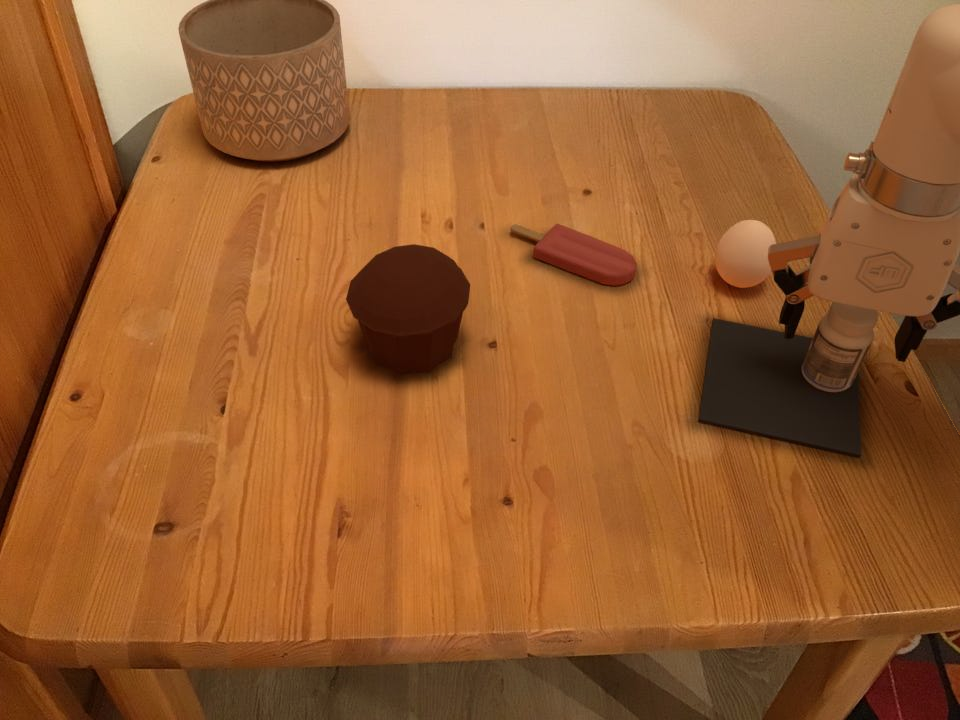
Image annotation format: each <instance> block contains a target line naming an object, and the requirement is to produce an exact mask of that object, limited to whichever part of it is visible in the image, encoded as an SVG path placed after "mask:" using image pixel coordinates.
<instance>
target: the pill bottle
mask: <svg viewBox="0 0 960 720" xmlns="http://www.w3.org/2000/svg"><path fill="white" fill-rule="evenodd" d="M879 316H880V315H879V311H877V310H872V309H867V308H861V307H856V306H851V305H846V304H841V303H836V302H831V304H830V307H829V308H828V311H827V313H825V314H824V315H823V316H822V317H821V319H820V321H819V322H818V324H817V326H816V330H815V332H814V335H813V337H812V338H813V340H812V342H811V345H810V347H809V350H808V352H807V354H806V357H805V359H804V362H803V364H802V374H803V376H804V378H805V379H806V380H807V381H808V382H809V383H810V384H811V385H813V386H814V387H816V388H817V389H820V390H823V391H826V392H840V391H843V390H846V389H847V388H849V387H850V386H851V384H852V383H853V381H854V379H855V377H856V375H857V372H859V370H860V369H861V366H862V365H863V362H864V360H865V358H866V356H867V354H868V352H869V349H870V348H871V345H872V344H873V341H874V338H875V330H874V329H875V327H876V324H877V322H878V320H879Z"/></svg>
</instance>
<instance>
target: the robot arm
mask: <svg viewBox="0 0 960 720" xmlns="http://www.w3.org/2000/svg"><path fill="white" fill-rule="evenodd" d="M845 157H846V158H845V160H844V166H843V170H844V171H848V172H853V175H852V176H851V177H850V178H849V180H847V182H846V184H845V186H844V187H843V189H842V190H841V191H840V193H839V195H838V197H837V198H836V200H835V201H834V203H833V205H832V207H831V209H830V211H829V212H828V214H827V216H826V218H825V220H824V223H823V224H822V226H821V228H820V230H819V232H818V235H814V236H809V237H803V238H798V239H793V240H788V241H783V242H779V243H776V244H773V245H771V246H769V248H768V261H769V264H770V267H771V271H772V272H771V273H772V276H773V281H774V283H775V284H776V285H777V286H778V288H779V289H780V290H781V292H782V293H783V294H784V296H785V298H784V301H783V304H782V306H781V309H780V313H779V316H778V317H779V319H778V324H779V325H784V331H783V332H784V338H786V339H791V338H793V337H794V334H795V335H796V331H797V329H798V327H799V324H800V323H801V322H800V321H801V319H802V317H803V314H804V311H805V302H806V300H808V299H810V298H812V297H813V296H814V297H816V298H818V299H820V300H823V301H827V302H831V303H832V302H836V303H841V304H846V305H851V306H856V307H861V308H867V309H872V310H877V311H878V312H883V313H888V314H893V315H900V316H904V318H903V320H902V322H901V324H900V326H899V327H898V329H897V332H896V333H895V336H894V352H895V359H896V360H897V361H898V362H903V363H905V362H906V361H907V359H908V357H909V355H910V354H911V352H912V350H913V351H917V350H918V348H919V347H920V345H921V343H922V341H923V339H924V337H925V336H926V334H927V332H928V331H931V330H934V329H936V328H937V326H938V324H939V323H943V322H945V321H947V320H949V319H952V318H955V317H959V316H960V265H959V264H957V263H956V262H957V260H958V257H959V255H960V3H953V4H952V3H951V4H948V5H944V6H942V7H940V8H937V9H935V10H934V11H933V12H931V13H930V14H928V15H927V16H926V17H925V18H924V19H923V20H922V22H921V24H920V26H919V27H918V29H917V30H916V33H915V36H914V38H913V40H912V43H911V46H910V48H909V50H908V52H907V56H906V58H905V60H904V64H903V66H902V68H901V71H900V73H899V76H898V79H897V81H896V84H895V86H894V89H893V91H892V94H891V97H890V99H889V101H888V104H887V105H886V109H885V111H884V113H883V118H882V120H881V121H880V124H879V127H878V130H877V132H876V135H875V137H874V140H873V141H871V142H870V144H869V146H868V149H867V148H866V149H865V151H864V152H858V153H855V152H854V153H853V152H848V153H847V155H846V156H845ZM808 258H809V264H808V265H807V266H806V267H804V268H802V269H800V270H798V271H796V272H795V271H794V270H793V269H792V268H791V266H790V265H789V264H788V263H789V262H793V261H797V260H803V259H808ZM947 285H949V286H951V287H952V288H954V289H955V291H954V292H952V293H948V294H945V295H943V293H944V291H945V290H946V287H947ZM942 295H943V296H942Z"/></svg>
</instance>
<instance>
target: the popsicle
mask: <svg viewBox="0 0 960 720" xmlns="http://www.w3.org/2000/svg"><path fill="white" fill-rule="evenodd" d="M509 230H510V231H511V232H512V233H514V234H517V235H519V236H521V237H524V238H527V239H530V240H532V241H535V242H537V243H536V244H535V245H534V247H533V251H532V257H533V258H534V259H537V260H538V261H542V262H544V263H546V264H549V265H552V266H554V267H557V268H559V269H562V270H564V271H567V272H569V273H572V274H575V275H578V276H580V277H582V278H586V279H588V280H591V281H594V282H595V283H596V282H597V283H599V284H602V285H605V286H606V285H607V286H613V287H616V286H622V285H625V284H627V283H629V282H631V281H632V280H633V278H634V277H635V274H636V269H637V261H636V259H635V257H634V255H633V254H632V253H630V252H628V251H627V250H625V249H624V248H621V247H619V246H616V245H614V244H611V243H609V242H606V241H604V240H601V239H599V238H596V237H593V236H591V235H588V234H586V233H584V232H581V231H578V230H576V229H573V228H571V227H568V226H565V225H562V224H560V223H555V224H554V225H553V226H552V227H551V228H550V229H549V231H547V233H546V234H542V233H540V232H538V231H534V230H532V229H529V228H527V227H524V226H521V225H519V224H512V225H511V226H510V228H509Z"/></svg>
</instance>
